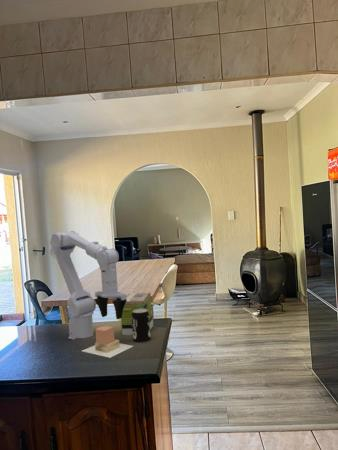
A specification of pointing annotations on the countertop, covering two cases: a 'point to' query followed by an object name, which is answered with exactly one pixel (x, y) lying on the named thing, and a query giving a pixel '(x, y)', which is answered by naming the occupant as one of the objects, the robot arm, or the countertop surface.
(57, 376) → the countertop surface
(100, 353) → the build plate
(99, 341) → the top brick
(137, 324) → the beverage can
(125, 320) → the tea box
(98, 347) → the bottom brick
